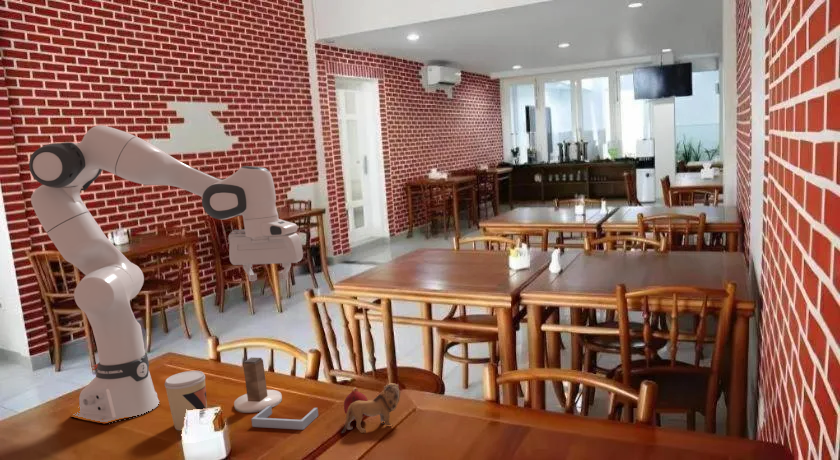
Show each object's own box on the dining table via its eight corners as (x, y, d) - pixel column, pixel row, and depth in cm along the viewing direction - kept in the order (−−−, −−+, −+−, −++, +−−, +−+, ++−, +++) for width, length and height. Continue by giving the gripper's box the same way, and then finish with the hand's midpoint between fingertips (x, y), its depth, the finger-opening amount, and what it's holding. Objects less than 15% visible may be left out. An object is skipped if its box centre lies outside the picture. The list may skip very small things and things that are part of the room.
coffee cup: (194, 433, 149) (187, 384, 148) (162, 431, 152) (155, 383, 151) (219, 416, 158) (212, 370, 157) (188, 414, 161) (181, 369, 160)
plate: (225, 411, 161) (224, 407, 161) (251, 393, 172) (250, 389, 172) (266, 413, 157) (265, 409, 157) (290, 394, 168) (289, 390, 168)
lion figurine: (398, 414, 149) (394, 378, 148) (407, 422, 144) (403, 385, 143) (338, 431, 143) (334, 393, 142) (345, 440, 138) (341, 400, 137)
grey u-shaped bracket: (252, 426, 150) (251, 418, 150) (269, 413, 157) (268, 405, 157) (303, 429, 146) (302, 421, 146) (318, 415, 153) (317, 407, 153)
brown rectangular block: (248, 401, 163) (242, 362, 162) (255, 395, 167) (250, 357, 166) (260, 401, 162) (254, 362, 161) (267, 396, 166) (262, 357, 164)
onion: (366, 426, 144) (362, 393, 143) (342, 426, 145) (338, 393, 144) (373, 415, 150) (369, 383, 149) (350, 415, 151) (346, 383, 150)
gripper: (220, 231, 164) (227, 283, 166) (290, 227, 158) (296, 282, 160) (235, 228, 170) (241, 278, 172) (302, 224, 164) (308, 276, 166)
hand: (268, 280), depth 166 cm, fingers open, 8 cm apart
